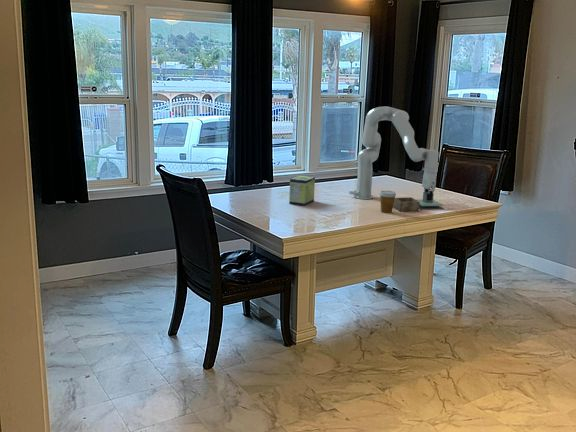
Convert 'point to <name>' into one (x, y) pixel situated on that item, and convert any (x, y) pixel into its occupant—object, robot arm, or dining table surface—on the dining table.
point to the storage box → (406, 204)
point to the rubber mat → (429, 207)
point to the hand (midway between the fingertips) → (427, 199)
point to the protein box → (302, 190)
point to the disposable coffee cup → (387, 201)
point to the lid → (428, 201)
